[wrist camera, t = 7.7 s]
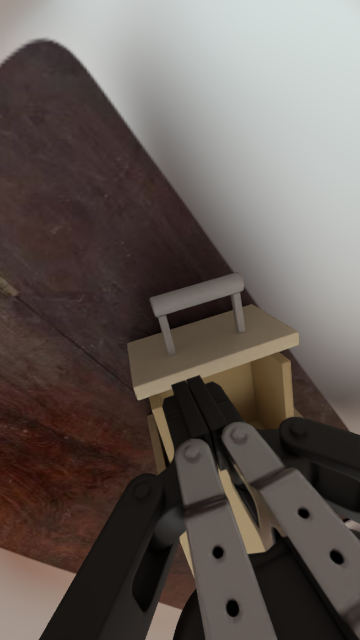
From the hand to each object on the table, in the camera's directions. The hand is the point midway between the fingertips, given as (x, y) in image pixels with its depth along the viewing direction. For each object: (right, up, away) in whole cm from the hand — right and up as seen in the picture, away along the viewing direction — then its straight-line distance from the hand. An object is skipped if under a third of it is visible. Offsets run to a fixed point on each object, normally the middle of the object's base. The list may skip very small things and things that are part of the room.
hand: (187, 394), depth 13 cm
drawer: (+2, -1, +14) cm, 15 cm away
